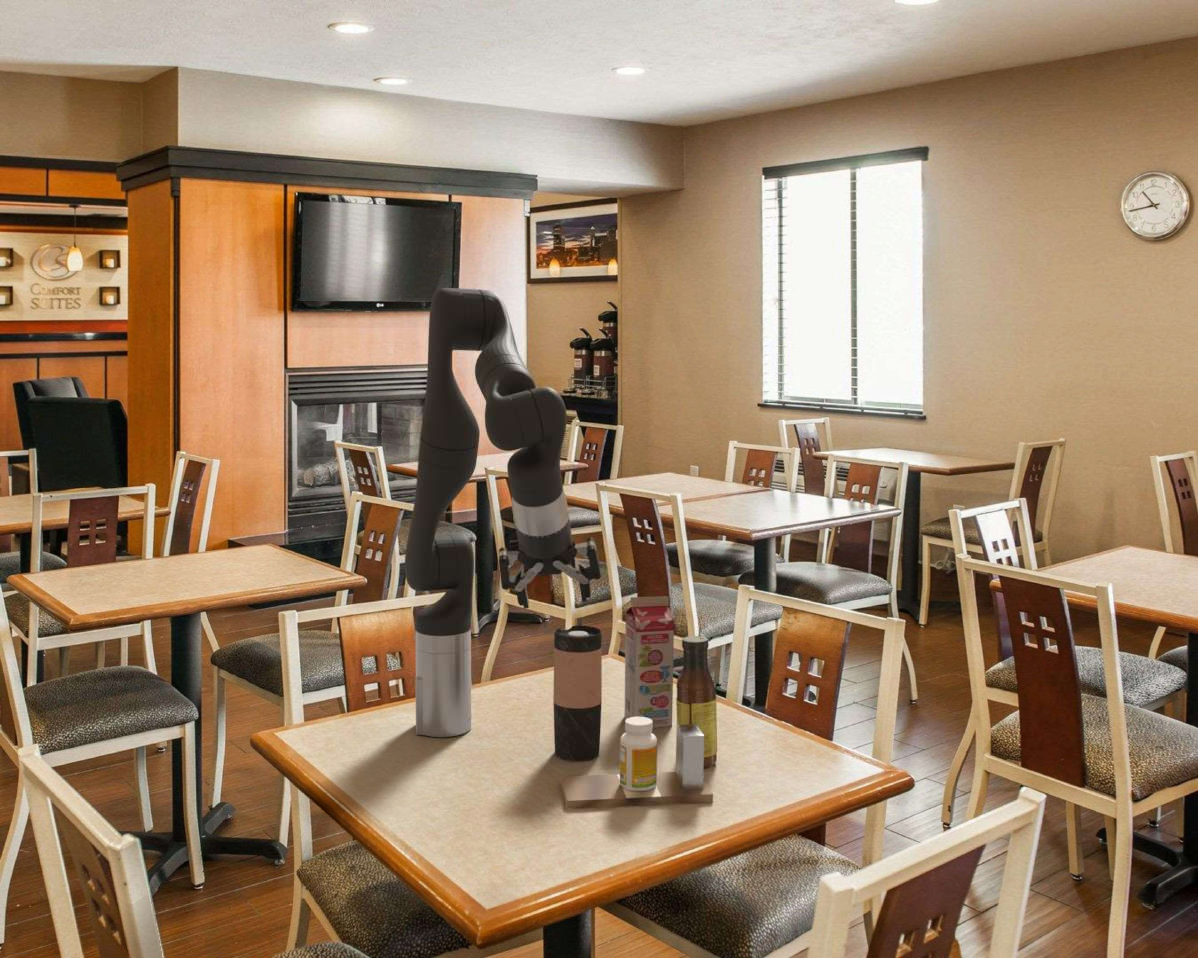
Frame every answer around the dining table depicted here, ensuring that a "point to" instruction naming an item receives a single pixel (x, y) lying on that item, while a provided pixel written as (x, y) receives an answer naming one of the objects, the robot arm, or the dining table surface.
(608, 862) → the dining table surface
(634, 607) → the juice carton
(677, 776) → the silver rectangular block
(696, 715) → the sauce bottle
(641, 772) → the supplement bottle
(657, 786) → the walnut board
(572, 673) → the travel mug
